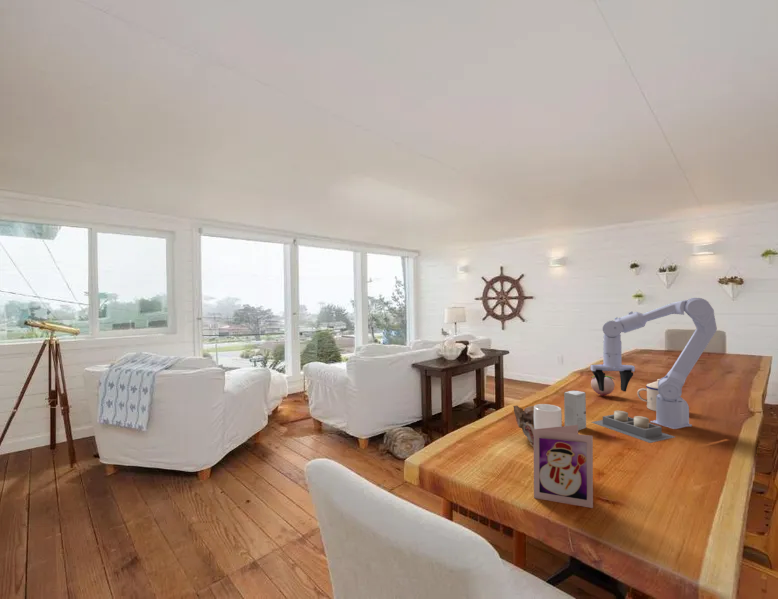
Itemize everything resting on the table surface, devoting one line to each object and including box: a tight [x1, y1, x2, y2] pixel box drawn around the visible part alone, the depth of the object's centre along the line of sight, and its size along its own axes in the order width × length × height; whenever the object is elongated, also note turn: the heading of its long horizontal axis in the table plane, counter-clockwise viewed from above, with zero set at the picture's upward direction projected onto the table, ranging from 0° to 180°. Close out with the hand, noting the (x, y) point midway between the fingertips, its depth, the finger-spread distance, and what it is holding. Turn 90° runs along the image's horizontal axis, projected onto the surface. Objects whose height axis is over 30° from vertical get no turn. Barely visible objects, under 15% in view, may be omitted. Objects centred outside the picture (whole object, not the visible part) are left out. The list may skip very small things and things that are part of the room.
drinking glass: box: [533, 403, 563, 429], centre depth 98 cm, size 7×7×15 cm
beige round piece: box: [613, 410, 629, 422], centre depth 125 cm, size 4×4×4 cm
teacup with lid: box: [636, 378, 661, 412], centre depth 146 cm, size 12×9×12 cm
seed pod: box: [513, 405, 535, 448], centre depth 113 cm, size 13×16×15 cm
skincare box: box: [563, 390, 587, 431], centre depth 124 cm, size 6×4×12 cm
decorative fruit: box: [590, 375, 616, 397], centre depth 165 cm, size 9×8×10 cm
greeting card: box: [533, 425, 594, 509], centre depth 82 cm, size 11×7×15 cm, turn 69°
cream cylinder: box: [633, 415, 650, 429], centre depth 119 cm, size 4×4×4 cm
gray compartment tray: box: [590, 414, 676, 444], centre depth 122 cm, size 12×20×3 cm, turn 22°
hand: (612, 390), depth 137 cm, fingers open, 7 cm apart
